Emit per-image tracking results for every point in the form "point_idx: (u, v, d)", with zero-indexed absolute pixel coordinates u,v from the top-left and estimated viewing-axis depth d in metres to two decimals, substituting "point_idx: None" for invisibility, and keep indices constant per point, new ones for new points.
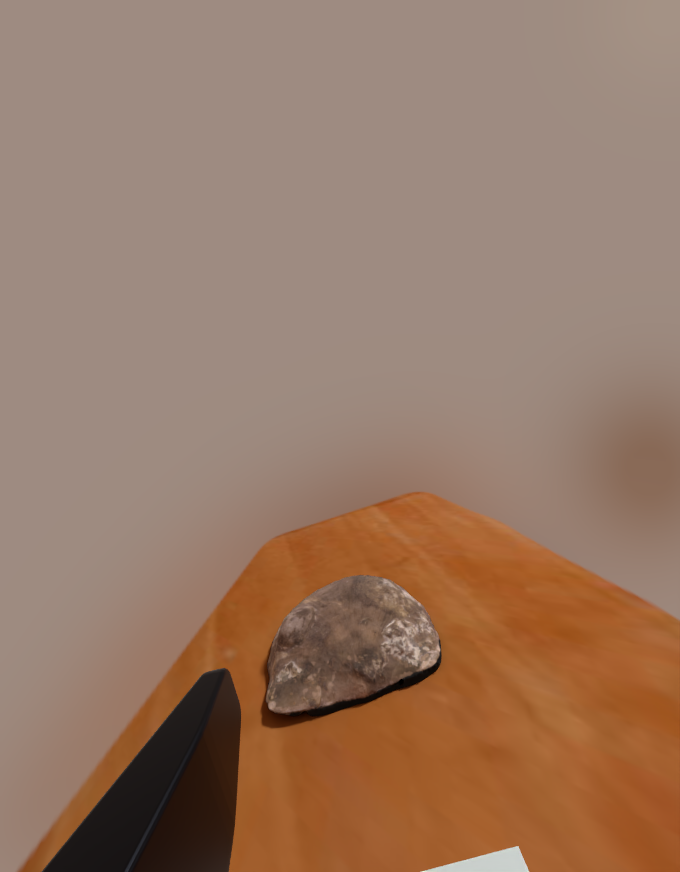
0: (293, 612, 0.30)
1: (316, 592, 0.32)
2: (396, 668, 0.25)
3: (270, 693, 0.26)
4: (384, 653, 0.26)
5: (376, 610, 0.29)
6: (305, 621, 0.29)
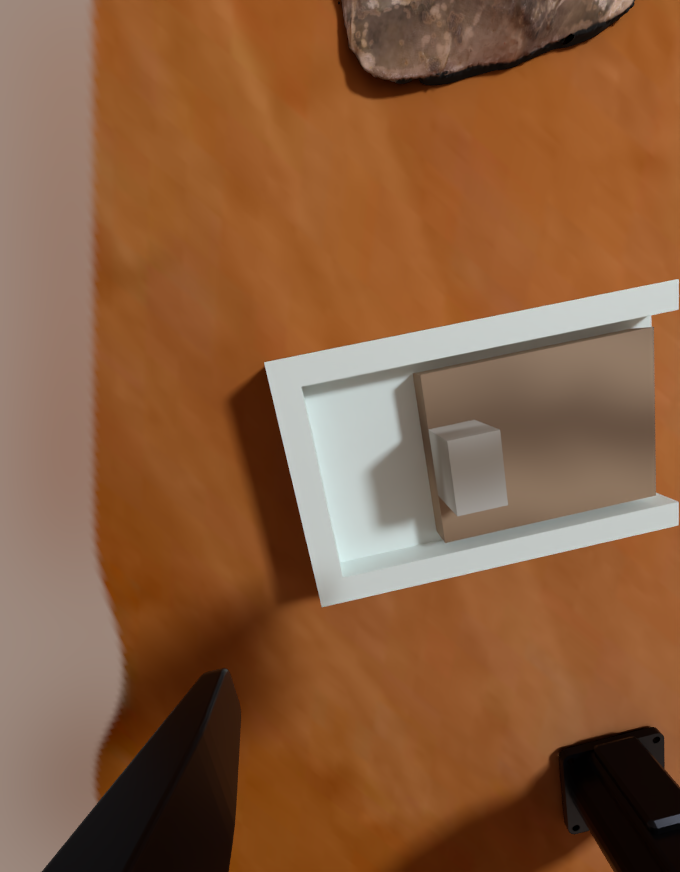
0: None
1: None
2: (572, 11, 0.15)
3: (359, 34, 0.15)
4: None
5: None
6: None
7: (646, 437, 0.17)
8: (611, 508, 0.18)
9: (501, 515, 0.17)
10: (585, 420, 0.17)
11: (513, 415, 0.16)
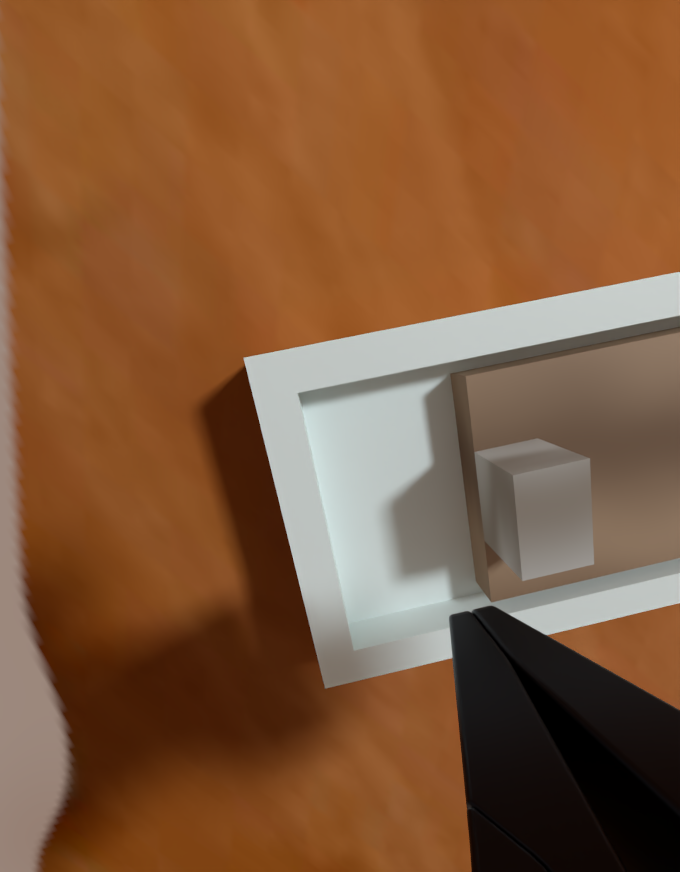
0: None
1: None
2: None
3: None
4: None
5: None
6: None
7: None
8: None
9: None
10: None
11: (590, 433, 0.12)
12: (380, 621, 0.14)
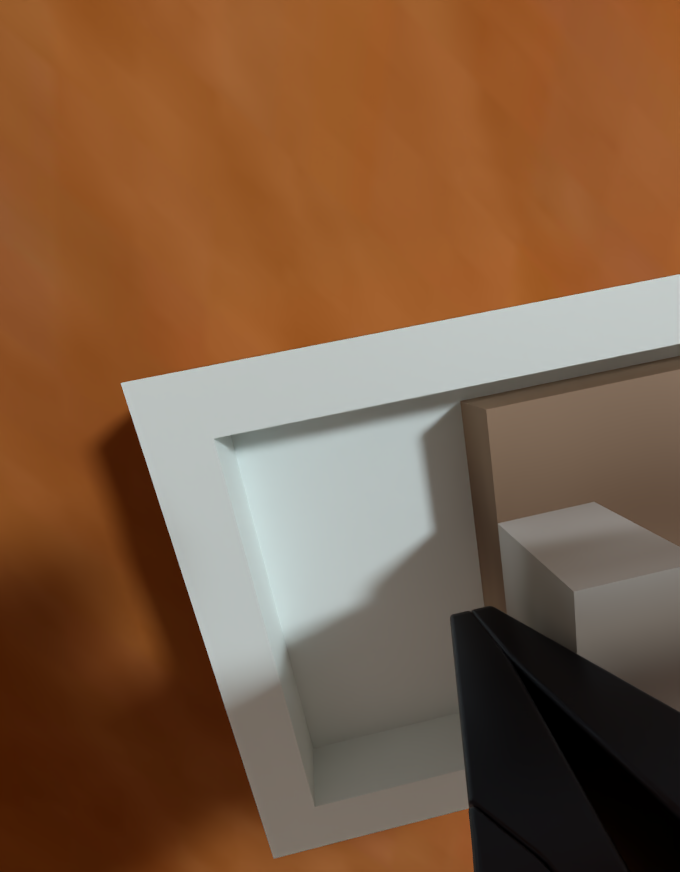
0: None
1: None
2: None
3: None
4: None
5: None
6: None
7: None
8: None
9: None
10: None
11: (674, 492, 0.08)
12: (357, 749, 0.10)
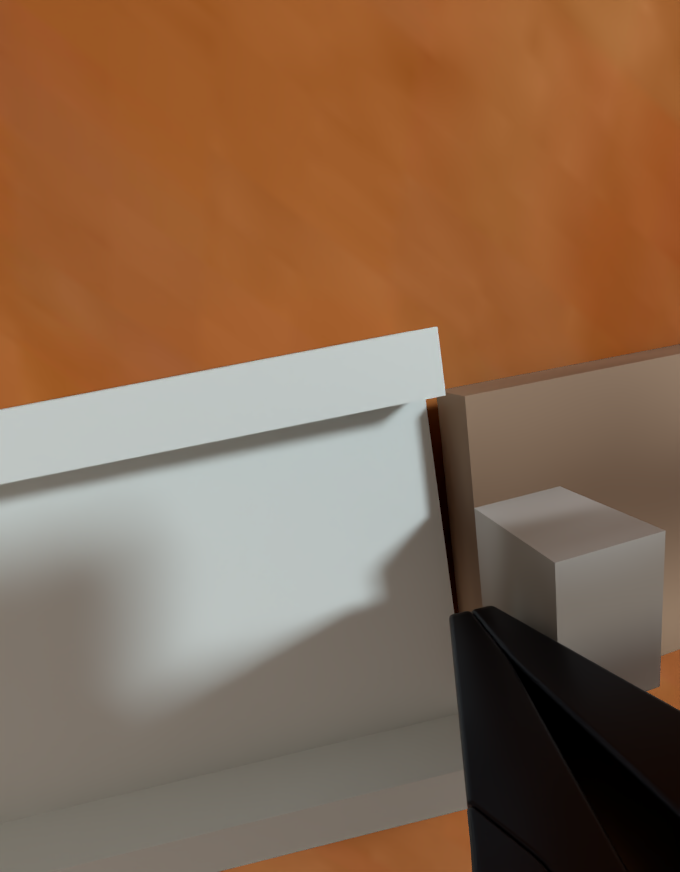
0: None
1: None
2: None
3: None
4: None
5: None
6: None
7: None
8: (370, 760, 0.09)
9: None
10: None
11: (627, 477, 0.09)
12: None
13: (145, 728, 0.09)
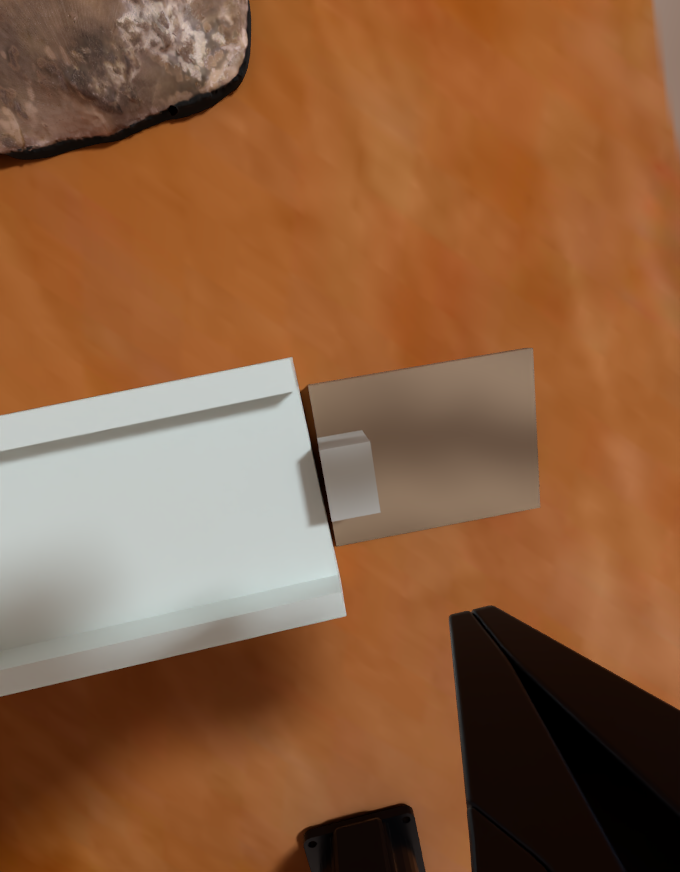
0: None
1: None
2: (159, 82, 0.14)
3: None
4: (130, 47, 0.13)
5: None
6: None
7: (529, 452, 0.18)
8: (278, 596, 0.17)
9: (390, 521, 0.18)
10: (470, 434, 0.18)
11: (399, 427, 0.17)
12: (3, 654, 0.17)
13: (152, 578, 0.17)
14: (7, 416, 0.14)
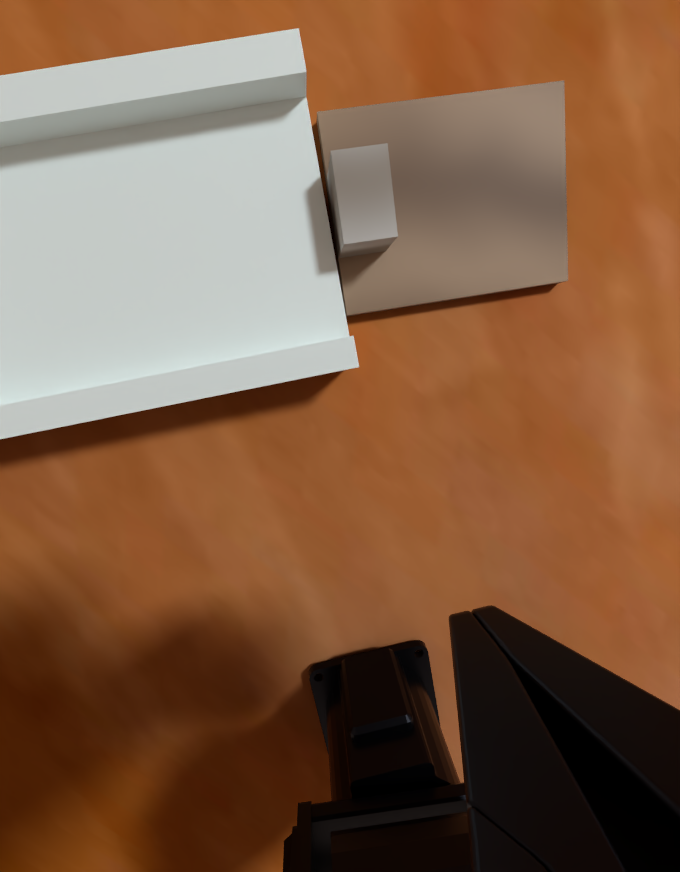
0: None
1: None
2: None
3: None
4: None
5: None
6: None
7: (557, 211, 0.17)
8: None
9: (405, 287, 0.17)
10: (493, 184, 0.16)
11: (417, 171, 0.16)
12: None
13: (146, 329, 0.15)
14: None
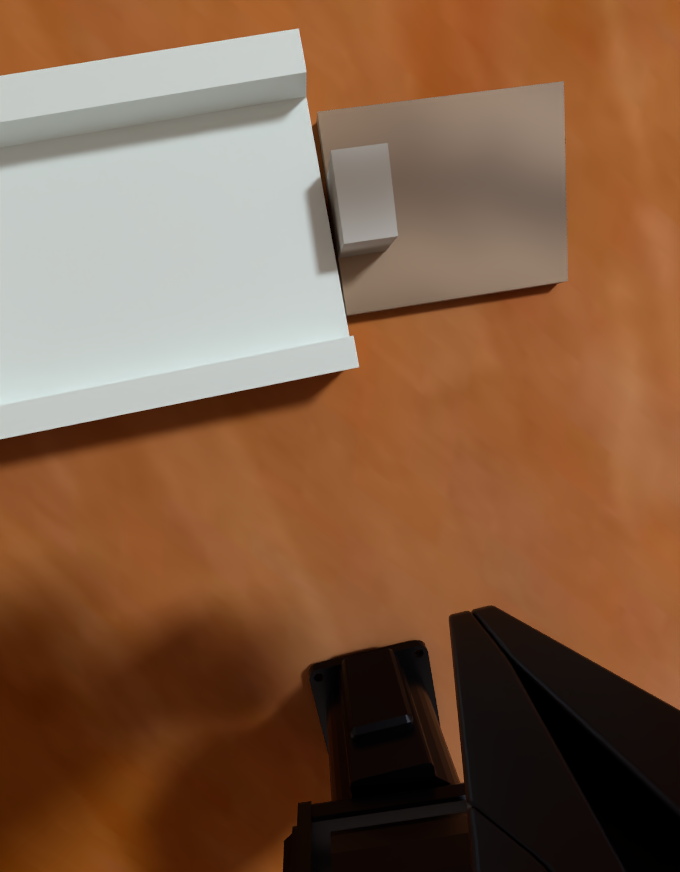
0: None
1: None
2: None
3: None
4: None
5: None
6: None
7: (557, 211, 0.17)
8: None
9: (405, 287, 0.17)
10: (493, 184, 0.16)
11: (417, 171, 0.16)
12: None
13: (146, 329, 0.15)
14: None
